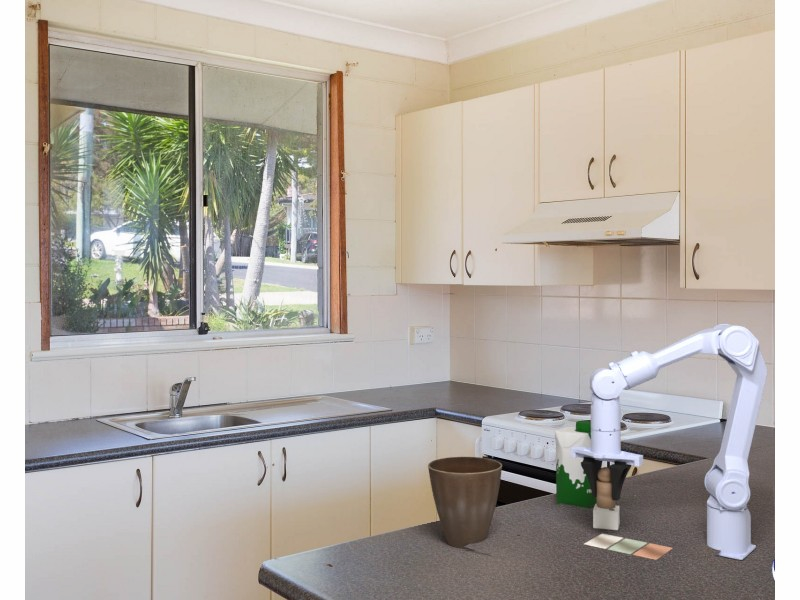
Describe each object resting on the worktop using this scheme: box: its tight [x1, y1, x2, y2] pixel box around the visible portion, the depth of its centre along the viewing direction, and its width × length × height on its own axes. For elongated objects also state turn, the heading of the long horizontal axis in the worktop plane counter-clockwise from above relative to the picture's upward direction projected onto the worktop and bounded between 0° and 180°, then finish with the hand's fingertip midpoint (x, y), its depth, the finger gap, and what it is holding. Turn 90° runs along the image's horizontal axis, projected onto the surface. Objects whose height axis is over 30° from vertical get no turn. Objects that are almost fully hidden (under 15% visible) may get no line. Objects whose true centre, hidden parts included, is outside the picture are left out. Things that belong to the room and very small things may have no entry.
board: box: [583, 533, 673, 560], centre depth 154 cm, size 10×15×1 cm, turn 51°
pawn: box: [596, 466, 617, 509], centre depth 157 cm, size 4×4×8 cm
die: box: [592, 503, 621, 531], centre depth 167 cm, size 5×5×5 cm
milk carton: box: [554, 420, 597, 509], centre depth 187 cm, size 9×9×20 cm
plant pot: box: [427, 456, 503, 549], centre depth 160 cm, size 15×15×16 cm
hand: (606, 497), depth 157 cm, fingers closed on pawn, 4 cm apart
